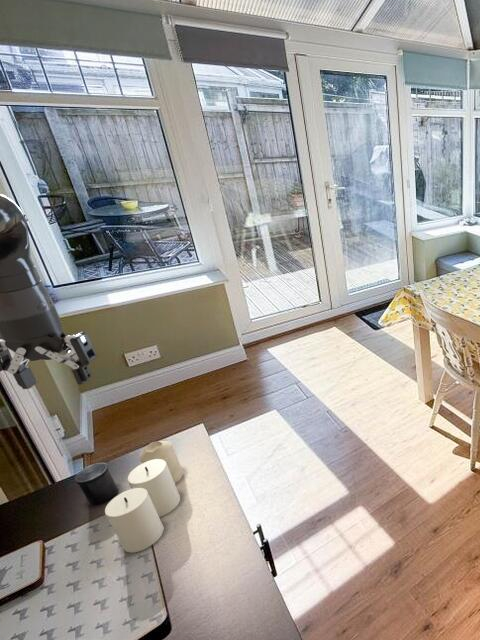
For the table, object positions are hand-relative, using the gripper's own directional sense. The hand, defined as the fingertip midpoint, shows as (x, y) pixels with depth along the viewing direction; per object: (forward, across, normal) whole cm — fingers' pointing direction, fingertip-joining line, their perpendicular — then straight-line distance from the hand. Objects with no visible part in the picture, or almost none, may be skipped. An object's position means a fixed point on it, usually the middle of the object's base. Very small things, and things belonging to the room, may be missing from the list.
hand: (57, 384), depth 79 cm
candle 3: (+27, -14, +15) cm, 34 cm away
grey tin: (+27, -1, +3) cm, 27 cm away
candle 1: (+27, -12, 0) cm, 30 cm away
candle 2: (+27, -14, +8) cm, 31 cm away
